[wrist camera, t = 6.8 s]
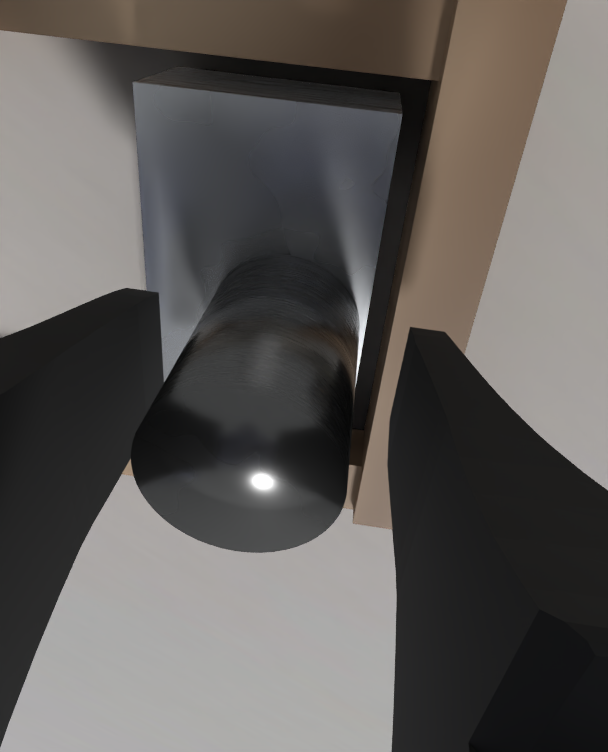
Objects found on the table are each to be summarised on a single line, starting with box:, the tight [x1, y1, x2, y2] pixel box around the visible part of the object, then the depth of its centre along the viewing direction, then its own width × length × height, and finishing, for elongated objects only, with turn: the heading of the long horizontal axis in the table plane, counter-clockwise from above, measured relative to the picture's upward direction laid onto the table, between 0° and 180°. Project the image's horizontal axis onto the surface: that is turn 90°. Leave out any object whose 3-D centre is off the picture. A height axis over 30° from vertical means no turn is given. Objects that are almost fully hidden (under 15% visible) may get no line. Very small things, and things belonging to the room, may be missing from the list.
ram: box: [131, 67, 402, 553], centre depth 11 cm, size 4×8×7 cm, turn 175°
